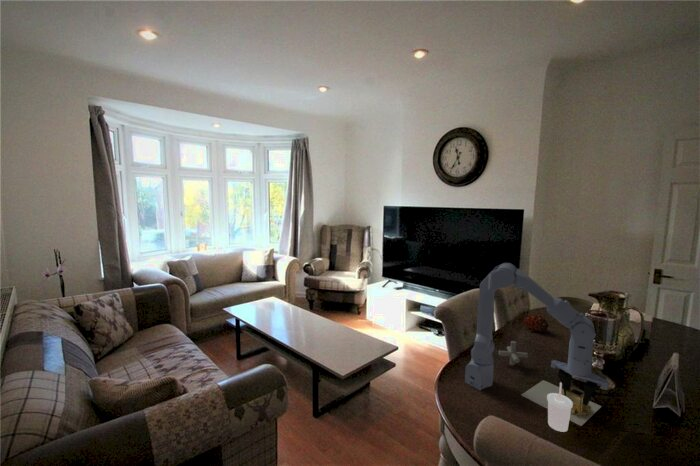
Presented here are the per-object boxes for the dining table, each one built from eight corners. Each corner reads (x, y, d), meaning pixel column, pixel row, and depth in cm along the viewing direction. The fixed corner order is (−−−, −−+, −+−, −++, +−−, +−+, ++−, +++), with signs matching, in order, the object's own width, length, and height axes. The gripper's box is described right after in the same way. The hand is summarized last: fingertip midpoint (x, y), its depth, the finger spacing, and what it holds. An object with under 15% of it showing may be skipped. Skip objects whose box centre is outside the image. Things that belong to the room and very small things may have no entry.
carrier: (580, 429, 89) (582, 416, 88) (520, 397, 103) (521, 386, 102) (601, 409, 97) (602, 397, 96) (543, 382, 111) (543, 372, 110)
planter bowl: (599, 328, 156) (601, 307, 155) (563, 325, 160) (564, 305, 159) (583, 316, 172) (585, 297, 170) (550, 314, 175) (552, 295, 174)
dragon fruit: (549, 338, 149) (522, 333, 158) (553, 324, 153) (527, 320, 162) (543, 327, 146) (517, 322, 155) (548, 312, 150) (522, 309, 159)
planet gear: (584, 419, 91) (585, 403, 90) (557, 405, 97) (558, 390, 96) (594, 409, 95) (595, 394, 94) (567, 397, 101) (568, 382, 100)
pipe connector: (530, 374, 116) (532, 349, 115) (501, 372, 118) (503, 346, 117) (521, 361, 126) (523, 337, 124) (495, 358, 128) (496, 335, 126)
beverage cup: (546, 418, 93) (550, 374, 92) (571, 428, 89) (575, 382, 88) (542, 429, 89) (546, 383, 87) (569, 440, 85) (572, 392, 83)
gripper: (615, 363, 90) (610, 407, 91) (559, 344, 102) (556, 383, 103) (605, 371, 86) (601, 416, 88) (548, 350, 98) (546, 390, 100)
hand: (576, 399), depth 95 cm, fingers closed on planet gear, 4 cm apart
